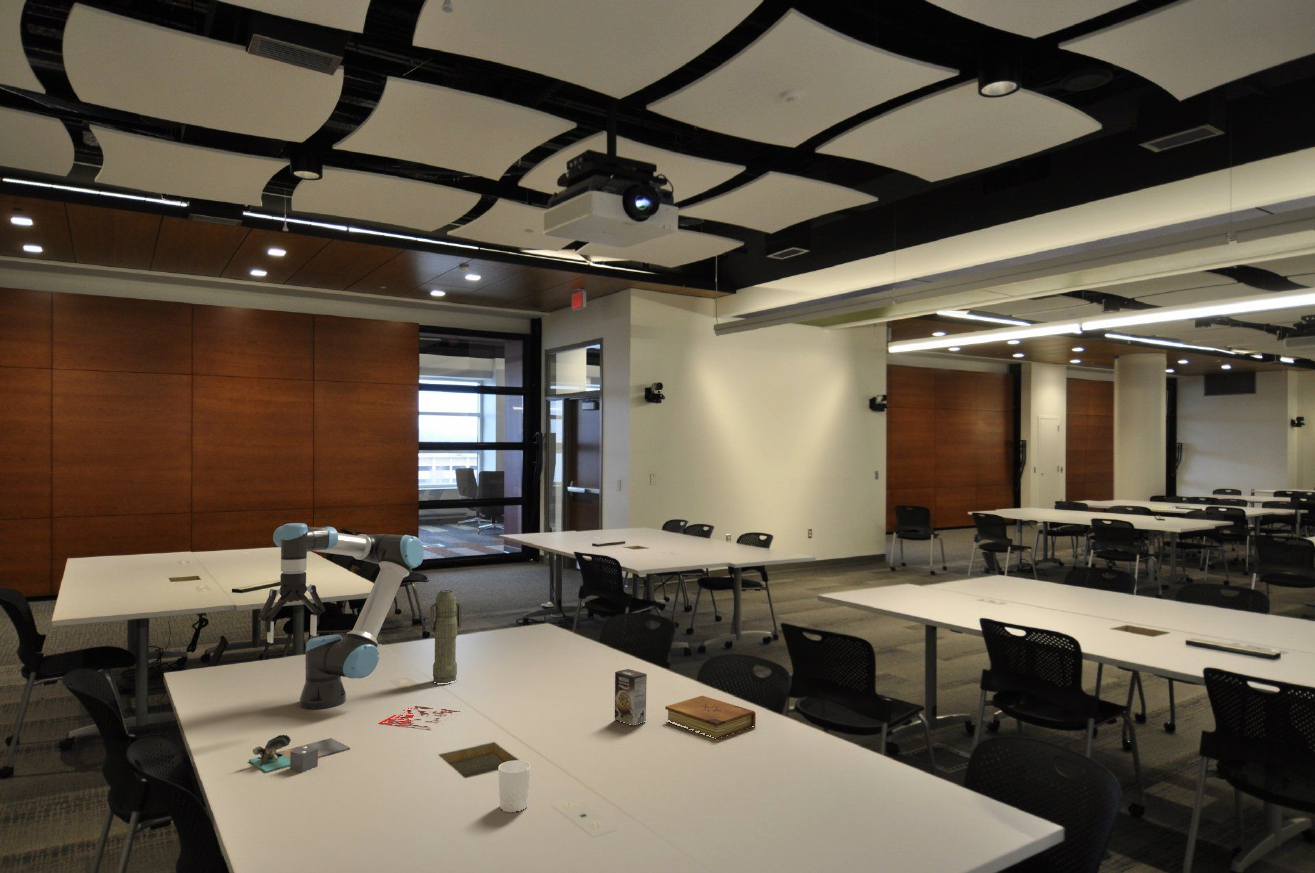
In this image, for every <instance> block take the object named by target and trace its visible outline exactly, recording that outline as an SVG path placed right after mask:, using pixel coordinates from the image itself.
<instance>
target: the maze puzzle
mask: <svg viewBox="0 0 1315 873" xmlns="http://www.w3.org/2000/svg"><path fill="white" fill-rule="evenodd" d="M407 708H408V709H409V707H407ZM402 711H405V709H403V710H402ZM394 716H396V715H395V714H393V715H391V716H389V717H387V718H385V719H383V720H381V721H379V722H378V725H383V724H388V725H387V726H392V724H394V723H393V722H395V721H394V720H404V719H399V717H400V716H403V715H401V714H400V715H398V717H397V716H396V717H394ZM405 716H406V717H405V718H406V720H404V721H401V722H402V723H398V724H399V725H395V726H394V727H400V726H408V725H402V724H409V723H405V722H409V721H407V720H409V719H408V718H413V717H410V716H414V715H407V714H406V715H405ZM393 717H394V718H398V719H394V718H393ZM414 717H415V716H414ZM391 718H392V719H391ZM387 720H393V721H387ZM413 721H414V720H412V722H413ZM383 722H384V723H383ZM387 722H391V723H387ZM410 722H411V721H410Z"/></svg>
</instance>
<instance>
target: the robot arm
mask: <svg viewBox="0 0 1315 873" xmlns="http://www.w3.org/2000/svg"><path fill="white" fill-rule="evenodd" d="M272 539H273V543H274V544H275V545H276V547H278V548H280V572H281V573H280V578H279V579H280V582H279V583H280V588H279V589H273V588H271V589H269V594H268V597H267V600H266V602H265V603H264V605H263V607H262V609H261V612H260V613H259V615H258V617H257V618H258V619H257V620H259V621H261V622H264V632H265V633H267V635H266V636H267V639H266V640H267V641H266V642H267V643H269V644H274V634H275V632H274V629H275V627H274V626H275V625H274V623H275V622H274V621H273V619H274V618H275V617H276V615H277V614H278V613H279V612H280V610H281V609H282V608H283V606H284V605H286V604H287V603H292V602H299V601H301V602H302V603H303V604H304V605H305V606H306V607H307V609H308V610H310V612H311V613H312V614H310V625H309V626H310V627H309V628H310V629H309V631H310V632H309V633H310V636H312V637H313V638H310V639H309V640H308V641H307V642H306V644H305V681H304V685H303V688H302V691H301V694H300V697H299V706H300V707H301V708H304V709H327V708H333V707H336V706H339V705H341V704H343V703H345V702H346V701H347V693H346V690H345V687H344V684H343V681H342V677H343V678H347V679H357V680H358V679H359V680H361V679H365V678H366V677H369V675H371V674H372V673H373V672H374V670H375V669H376V667H377V666H378V663H379V661H380V660H379V659H380V657H379V656H380V653H379V649H378V647H379V643H378V641H377V638H378V635H379V633H380V631H381V628H382V626H383V624H384V623H385V622H384V621H385V619H386V617H387V615H388V613H389V611H390V609H391V606H392V604H393V602H394V599H395V597H396V595H397V592H398V590H399V588H400V586H401V584H402V581H403V580H404V578H406V577H408V576H409V575H410V573H411V571H412V569H415V568H417V567H419V566H421V564H422V563H423V560H424V557H425V549H424V545H423V543H422V541H421V540H420V538H418V537H417V536H414V535H408V534H405V535H403V534H389V533H388V534H387V533H382V534H364V533H360V534H357V535H354V534H348V533H340V532H338V531H337V529H336V528H335V527H332V526H322V527H320V526H319V527H316V526H308V525H307V524H306V523H303V522H292V523H285V524H283V525H280V526H279V527H277V528H276V529H275V531H274V532H273V536H272ZM308 552H318V553H325V554H334V555H343V556H350V557H352V558H354V559H355V560H360V561H364V562H369V563H373V564H376V565H378V566H379V573H378V574H377V577H376V579H375V581H374V583H373V585H372V587H371V589H370V591H369V594H368V597H367V598H366V600H365V603H364V605H363V607H362V609H361V611H360V612H359V616H358V618H357V621H356V622H355V624H354V627H353V628H352V630H350V631H348V632H346V634H344V637H342V635H341V634H329V635H324V636H322V635H321V636H317V629H318V628H317V626H318V625H319V624H320V616H321V615H322V613H325V612H326V608H325V606H324V604H323V602H322V600H321V598H320V596H319V594H318V592H317V585H315V584H309V585H307V572H306V571H307V562H308V561H307V559H308V556H307V555H308ZM307 592H308V593H309V594H310V597H311V599H312V600H313V602H314V604H315V605H314V604H313V603H312V602H311V601H310V600H309V598H308V597H307V596H306V595H305V594H306V593H307ZM278 595H280V596H279V598H278V599H277V602H276V603H275V604H274V602H275V601H276V598H277V597H278ZM273 604H274V606H273Z"/></svg>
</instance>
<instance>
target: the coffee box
mask: <svg viewBox="0 0 1315 873" xmlns="http://www.w3.org/2000/svg"><path fill="white" fill-rule="evenodd" d="M647 680H648V678H647V673H644V672H641V671H637V670H633V669H630V668H626V669H622V670H621V669H620V670H618V671H617V670H616V671H615V672H614V721H615V720H619V721H621V722H625V723H627V724H631V725H635V724H639V723H641V722H644V721H646V722H647V684H648V683H647ZM621 722H620V723H621ZM627 724H626V725H627Z"/></svg>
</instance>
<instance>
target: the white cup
mask: <svg viewBox="0 0 1315 873" xmlns="http://www.w3.org/2000/svg"><path fill="white" fill-rule="evenodd" d="M497 774H498V792H499V793H498V794H499V808H500V809H502V810H503V811H502V810H501V811H502V812H505V811H506V812H505V813H512V812H513V813H517V812H516V811H519V812H522V811H524V810H526V809H527V808H528V805H529V794H530V784H531V783H530V781H531V780H530V779H531V778H530V777H531V764H530V762H528V761H526V760H525V761H524V760H520V759H518V760H508V761H505V762H502V763H500V764H499V765H498V773H497ZM526 807H527V808H526ZM525 808H526V809H525ZM523 809H524V810H523ZM521 810H522V811H521Z"/></svg>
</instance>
